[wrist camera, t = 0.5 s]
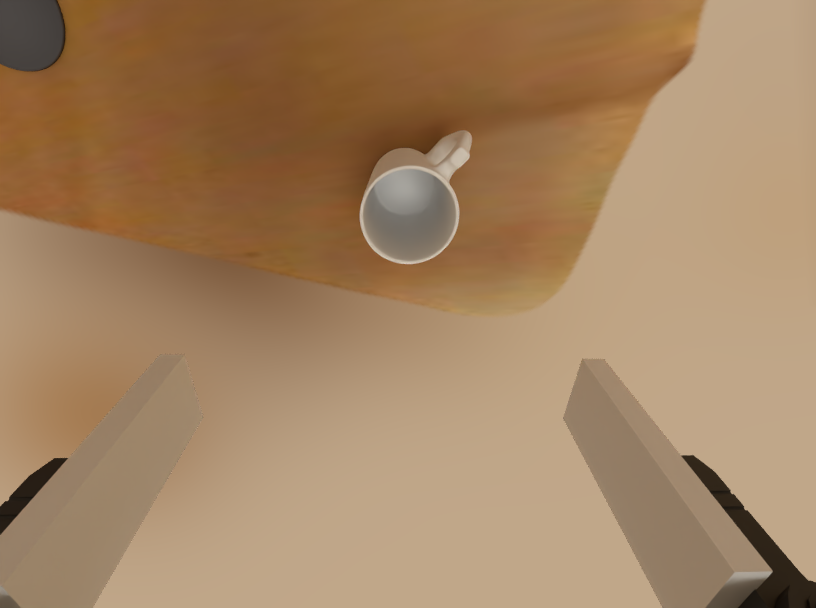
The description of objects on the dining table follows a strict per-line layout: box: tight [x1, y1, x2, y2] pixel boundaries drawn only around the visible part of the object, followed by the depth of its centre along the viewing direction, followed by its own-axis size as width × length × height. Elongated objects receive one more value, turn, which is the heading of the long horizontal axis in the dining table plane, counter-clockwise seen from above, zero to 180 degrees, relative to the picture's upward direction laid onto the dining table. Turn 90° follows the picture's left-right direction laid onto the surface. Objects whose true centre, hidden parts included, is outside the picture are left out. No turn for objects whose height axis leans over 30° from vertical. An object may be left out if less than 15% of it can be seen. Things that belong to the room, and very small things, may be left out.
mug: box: [360, 130, 472, 264], centre depth 31 cm, size 10×7×12 cm, turn 137°
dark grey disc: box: [0, 0, 65, 71], centre depth 29 cm, size 8×8×1 cm
